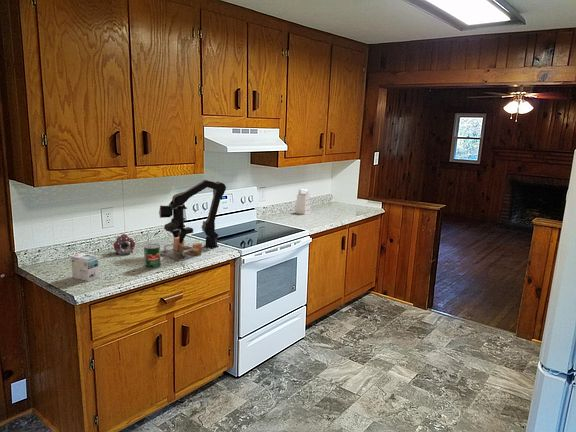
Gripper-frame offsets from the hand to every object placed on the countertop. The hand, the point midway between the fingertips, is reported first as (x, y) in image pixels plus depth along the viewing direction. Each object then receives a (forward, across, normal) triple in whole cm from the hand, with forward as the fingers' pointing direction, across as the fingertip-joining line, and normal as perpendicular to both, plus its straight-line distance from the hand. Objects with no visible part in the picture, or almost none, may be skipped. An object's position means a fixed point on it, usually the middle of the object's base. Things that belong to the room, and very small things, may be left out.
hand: (178, 243), depth 254 cm
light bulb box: (+4, +3, -59) cm, 59 cm away
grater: (+4, -9, +144) cm, 144 cm away
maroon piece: (+4, -17, -24) cm, 30 cm away
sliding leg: (+3, 0, -4) cm, 5 cm away
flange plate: (+4, +7, -10) cm, 13 cm away
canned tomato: (+4, +13, -29) cm, 32 cm away
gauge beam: (+4, +7, -4) cm, 9 cm away
